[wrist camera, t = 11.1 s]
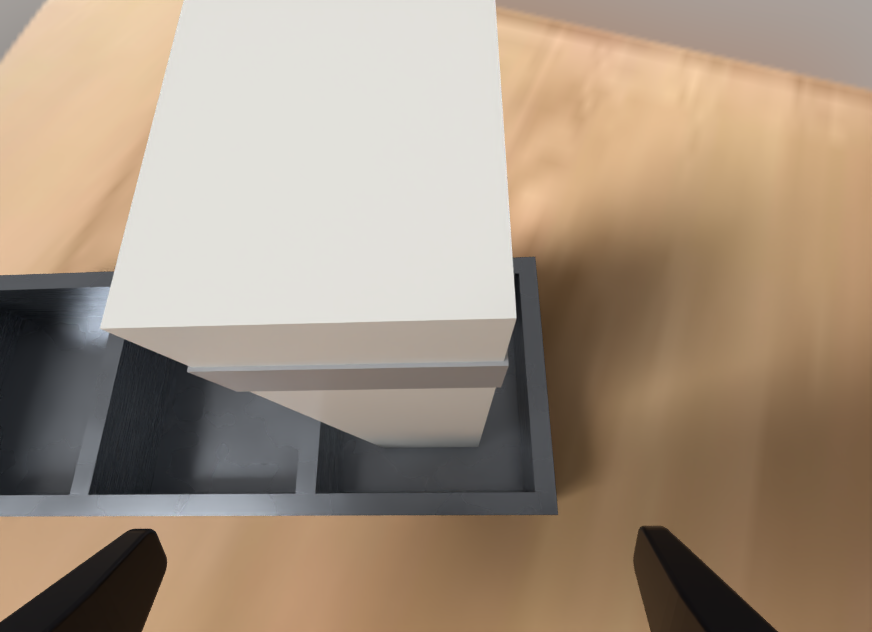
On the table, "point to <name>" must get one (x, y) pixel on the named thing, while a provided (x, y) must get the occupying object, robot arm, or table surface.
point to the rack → (232, 428)
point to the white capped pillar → (329, 213)
